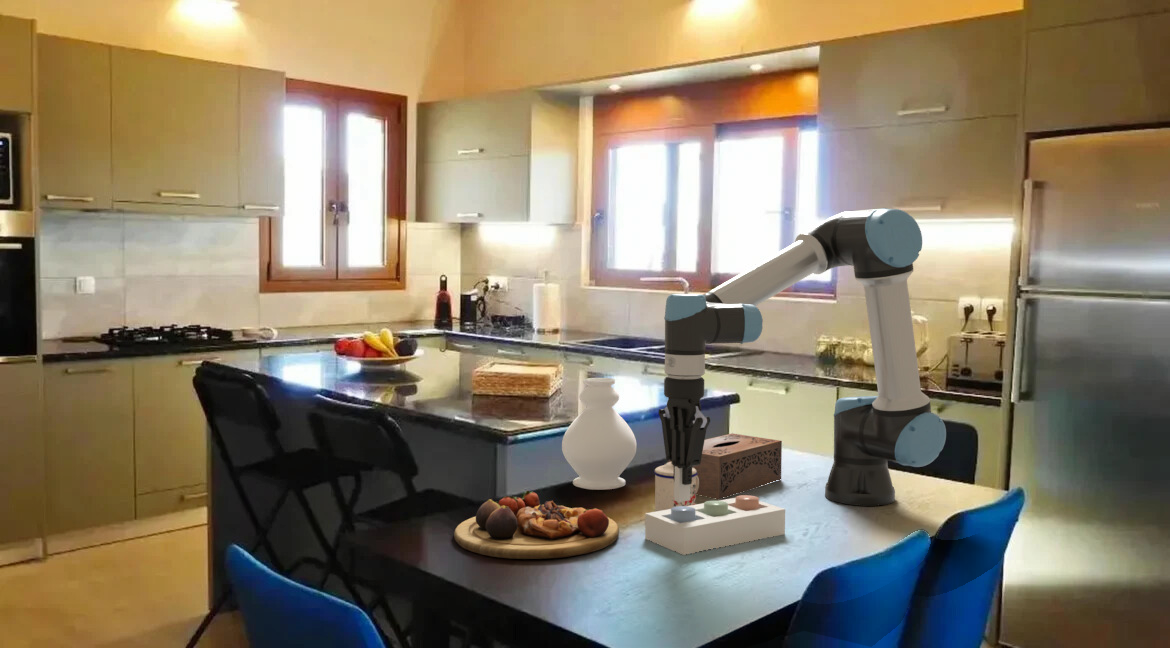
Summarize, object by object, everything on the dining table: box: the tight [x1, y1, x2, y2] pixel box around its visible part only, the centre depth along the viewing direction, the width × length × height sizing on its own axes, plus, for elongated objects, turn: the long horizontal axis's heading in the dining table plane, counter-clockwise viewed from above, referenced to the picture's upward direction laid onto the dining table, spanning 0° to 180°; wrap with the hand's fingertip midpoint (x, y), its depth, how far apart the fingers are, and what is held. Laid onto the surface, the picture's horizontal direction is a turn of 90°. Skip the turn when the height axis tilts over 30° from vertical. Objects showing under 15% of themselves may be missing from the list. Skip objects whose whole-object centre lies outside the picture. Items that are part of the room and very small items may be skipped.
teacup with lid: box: [653, 461, 699, 512], centre depth 207 cm, size 12×9×12 cm
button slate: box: [671, 506, 696, 523], centre depth 183 cm, size 5×5×4 cm
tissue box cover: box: [667, 432, 783, 500], centre depth 230 cm, size 26×14×10 cm, turn 136°
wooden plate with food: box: [453, 490, 620, 560], centre depth 188 cm, size 32×32×8 cm
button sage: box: [703, 500, 728, 517], centre depth 187 cm, size 5×5×4 cm
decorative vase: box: [561, 377, 637, 491], centre depth 231 cm, size 18×18×25 cm
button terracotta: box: [734, 494, 760, 511], centre depth 192 cm, size 5×5×4 cm
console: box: [644, 497, 786, 556], centre depth 188 cm, size 25×12×5 cm, turn 122°
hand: (682, 500), depth 183 cm, fingers closed
